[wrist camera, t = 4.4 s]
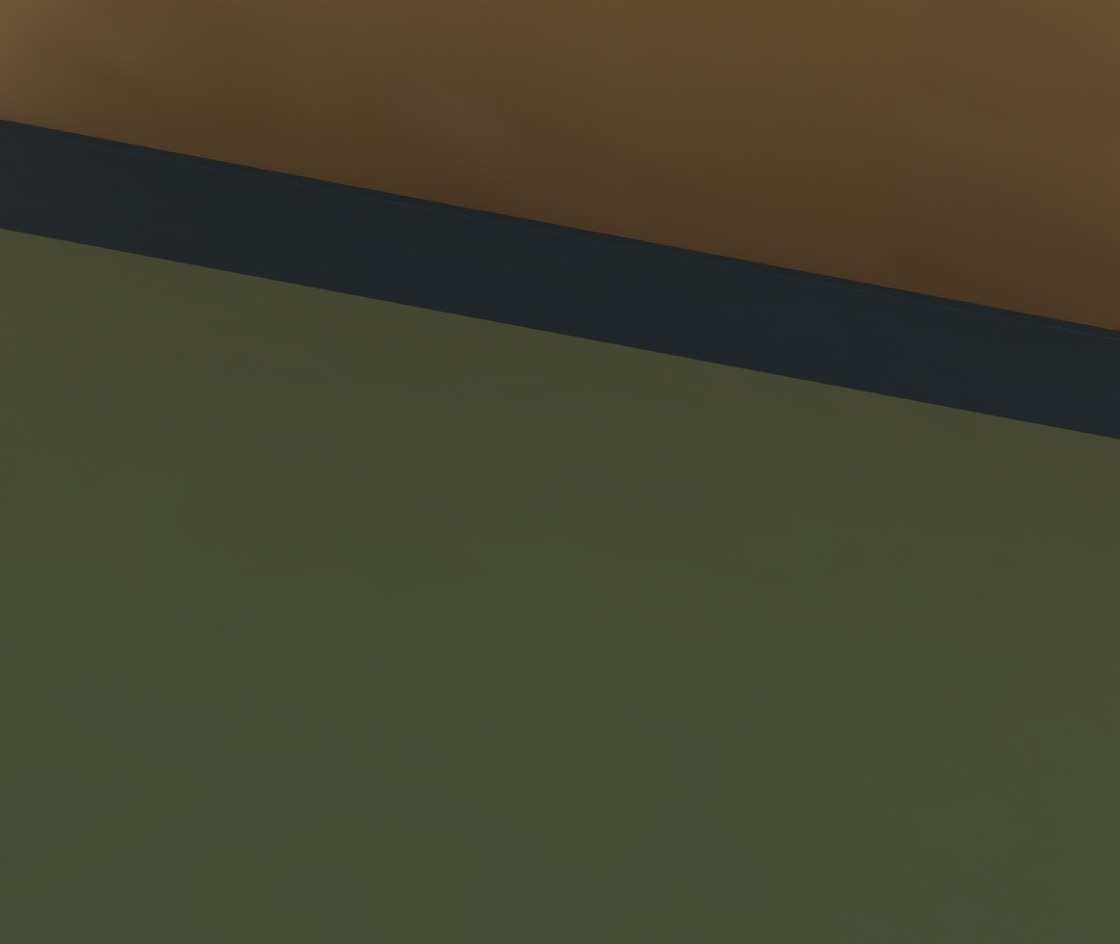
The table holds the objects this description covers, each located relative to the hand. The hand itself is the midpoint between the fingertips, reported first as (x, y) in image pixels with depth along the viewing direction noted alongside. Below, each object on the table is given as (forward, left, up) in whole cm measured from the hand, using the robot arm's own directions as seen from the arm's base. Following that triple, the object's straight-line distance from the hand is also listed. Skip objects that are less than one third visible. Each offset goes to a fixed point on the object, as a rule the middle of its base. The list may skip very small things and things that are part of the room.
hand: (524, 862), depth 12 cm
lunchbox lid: (0, +8, +7) cm, 11 cm away
